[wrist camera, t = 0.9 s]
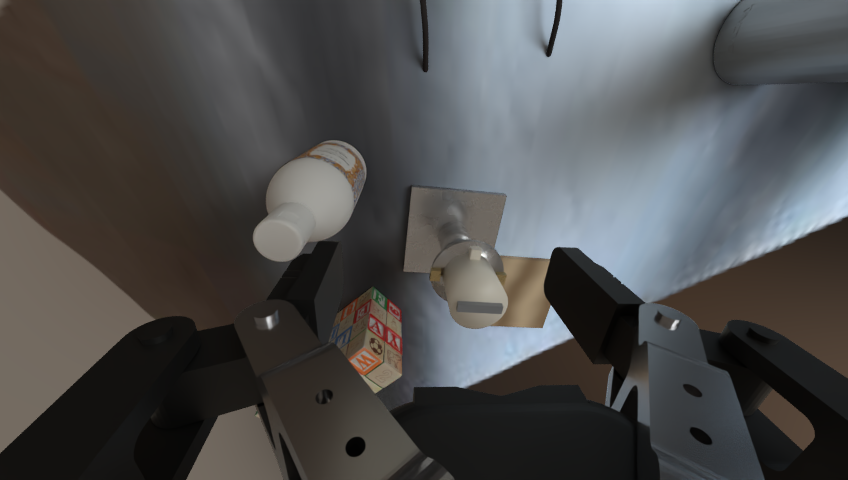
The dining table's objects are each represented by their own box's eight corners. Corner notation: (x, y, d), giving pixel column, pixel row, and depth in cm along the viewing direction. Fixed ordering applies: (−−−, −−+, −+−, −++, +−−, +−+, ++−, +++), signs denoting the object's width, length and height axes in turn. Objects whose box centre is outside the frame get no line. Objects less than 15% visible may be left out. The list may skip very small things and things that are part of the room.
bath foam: (376, 156, 36) (352, 217, 18) (354, 206, 39) (314, 303, 21) (319, 128, 34) (230, 165, 16) (300, 182, 37) (204, 266, 19)
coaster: (562, 260, 44) (565, 262, 44) (540, 324, 49) (542, 328, 49) (483, 254, 43) (484, 257, 42) (468, 321, 48) (469, 324, 47)
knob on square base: (504, 193, 39) (541, 228, 29) (485, 273, 44) (511, 326, 34) (411, 184, 38) (415, 218, 28) (403, 267, 43) (404, 321, 33)
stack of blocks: (308, 380, 51) (282, 458, 40) (277, 360, 49) (241, 438, 38) (402, 309, 46) (403, 377, 35) (373, 284, 44) (364, 348, 33)
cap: (499, 245, 30) (519, 275, 25) (484, 304, 33) (500, 342, 28) (447, 241, 30) (457, 271, 25) (437, 301, 33) (444, 339, 28)
